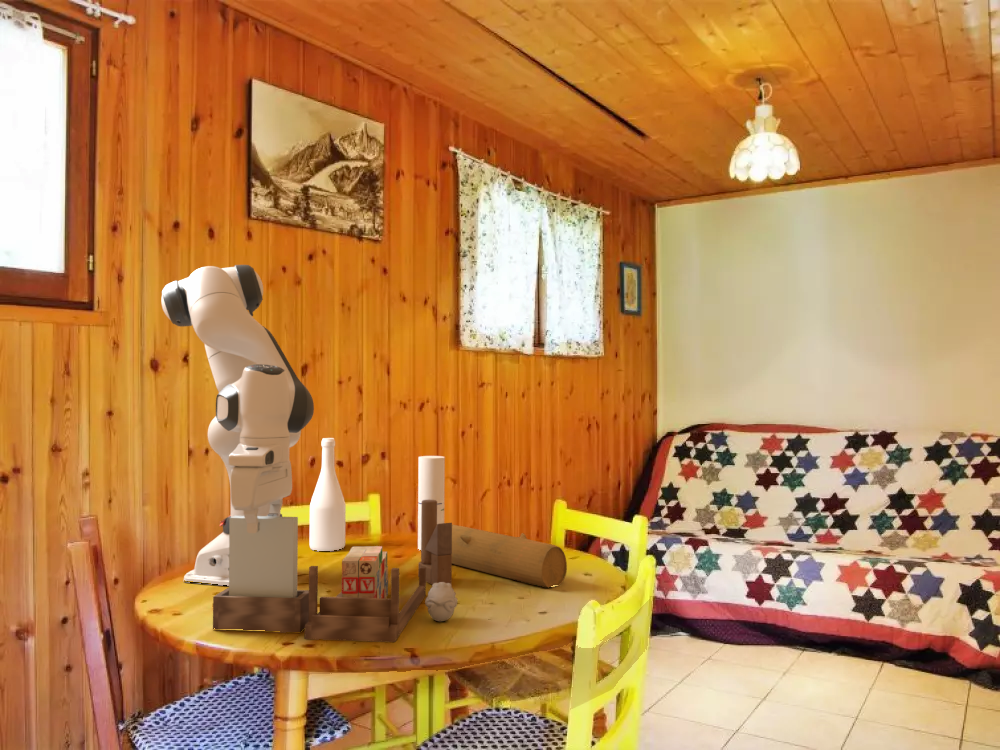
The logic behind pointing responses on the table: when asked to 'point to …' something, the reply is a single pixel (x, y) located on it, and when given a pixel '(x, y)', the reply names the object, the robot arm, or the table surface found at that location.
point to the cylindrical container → (431, 486)
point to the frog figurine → (441, 601)
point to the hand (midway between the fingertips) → (263, 527)
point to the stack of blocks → (365, 573)
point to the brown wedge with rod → (435, 545)
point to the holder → (261, 612)
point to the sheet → (263, 557)
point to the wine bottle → (327, 505)
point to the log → (508, 556)
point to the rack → (361, 613)
